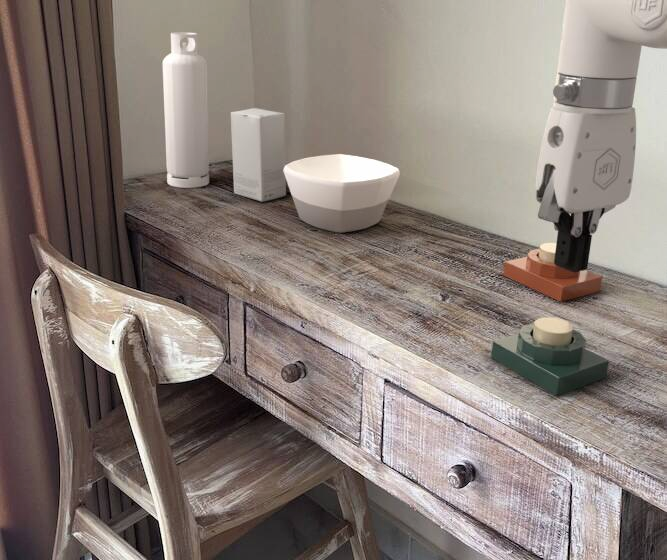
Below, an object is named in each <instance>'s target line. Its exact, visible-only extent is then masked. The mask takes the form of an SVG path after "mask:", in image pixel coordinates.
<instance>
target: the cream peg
mask: <svg viewBox="0 0 667 560" xmlns="http://www.w3.org/2000/svg"><path fill="white" fill-rule="evenodd" d="M533 323H534V330H533V339H535V340H536V341H538V342H540V343H544V344H548V345H552V346H565V345H568V344H571V340H572V334H573V329H574V325H573V324H572V323H570V322H569V321H567V320H564V319H561V318H557V317H550V316H549V317H548V316H547V317H540V318H537V319H535V321H534V322H533Z"/></svg>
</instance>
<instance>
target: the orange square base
mask: <svg viewBox="0 0 667 560" xmlns="http://www.w3.org/2000/svg"><path fill="white" fill-rule="evenodd" d="M539 249H540V248H535V249H532V250H530V251H529V252H528V253H527V255H526V256H523V257H519V258H514V259H510V260H506V261H505V262H504V267H503V276H504V277H506V278H507V279H510V280H512V281H515V282H517V283H518V284H521V285H523V286H525V287H526V288H530V289H532V290H534V291H536V292H538V293H540V294H543V295H545V296H547V297H549V298H551V299H553V300H555V301H558V302H560V303H562V302H566V301H571V300H572V299H576V298H580V297H583V296H587V295H591V294H595V293H599V292H601V287H602V281H603V276H601V275H600V274H599V275H598V274H596V273H594V272H591V271H589V270H588V269H586V270H583V271H579V272H576V273H574V272H572V271H569V270H566V269H564V268H561V267H559V266H556V265H555V263H551V262H546V261H543V260H541V259H539V258H538V256H539Z"/></svg>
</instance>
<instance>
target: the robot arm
mask: <svg viewBox="0 0 667 560" xmlns="http://www.w3.org/2000/svg"><path fill="white" fill-rule="evenodd" d="M562 20H563V21H562V30H561V36H560V46H559V53H558V60H557V61H558V62H557V69H556V71H557V73H556V78H555V86H554V88H553V91H552V95H553V104H552V107H551V108H550V111H549V114H548V117H547V121H546V125H545V127H544V132H543V136H542V141H541V145H540V151H539V156H538V162H537V168H536V174H535V175H536V176H535V185H534V186H535V188H534V195H535V199H536V202H538V203H540V206H539V209H538V213H537V217H538V219H540V220H543V221H545V222H549V223H553V228H554V230H555V231H556V232H557V237H556V242H555V243H556V251H555V259H554V263H555V265H556V266H559V267H561V268H564V269H566V270H569V271H572V272H574V273H576V272H579V271H583V270H588V266H589V260H590V254H591V253H590V252H591V245H592V238H593V235H594V234H595V233H597V231H598V227H599V223H600V219H601V218H602V216H603V215H604V214H606V213H608V212H610V211H612V210H613V209H615V207H616V206H618V205H621V204H622V203H624V202H626V201H627V200H628V199H629V198H630V195H631V191H632V185H633V179H634V178H633V177H634V169H635V159H636V149H637V148H636V146H637V116H636V108H635V107H633V105H634V97H635V91H636V84H637V78H638V74H639V73H638V72H639V66H640V59H641V54H642V53H641V52H642V46H643V47H647V48H652V49H660V50H661V49H662V50H664V49H665V50H667V0H565V3H564V12H563V19H562Z"/></svg>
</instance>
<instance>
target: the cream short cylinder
mask: <svg viewBox="0 0 667 560" xmlns="http://www.w3.org/2000/svg"><path fill="white" fill-rule="evenodd" d="M556 243H557V242H546V243H542V244H540V245H539V248H538V249H539V256H538V258H539V259H541V260H543V261H546V262H551V263H554V259H555V251H556Z"/></svg>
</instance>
